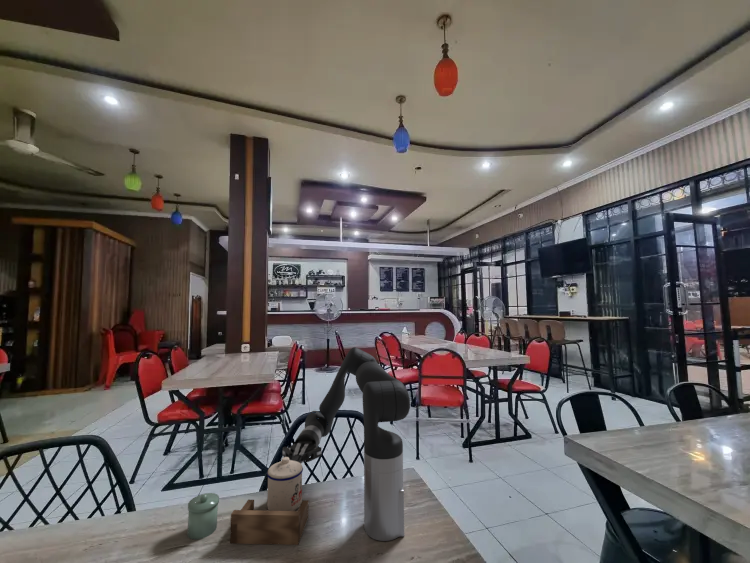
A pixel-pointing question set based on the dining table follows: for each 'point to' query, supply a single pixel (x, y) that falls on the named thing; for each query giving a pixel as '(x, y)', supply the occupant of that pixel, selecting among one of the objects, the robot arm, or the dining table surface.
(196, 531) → the green ceramic sugar pot
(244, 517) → the walnut cup holder
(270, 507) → the teacup with lid
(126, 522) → the dining table surface
